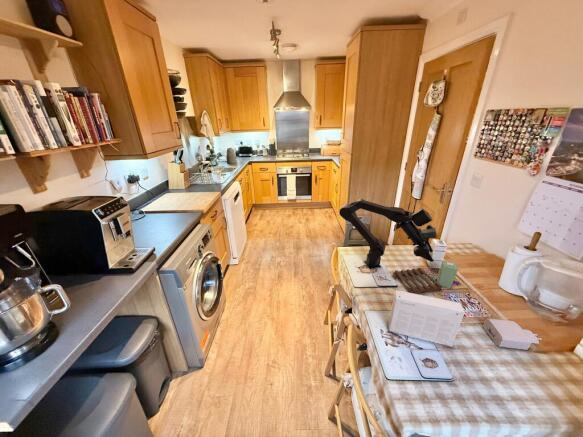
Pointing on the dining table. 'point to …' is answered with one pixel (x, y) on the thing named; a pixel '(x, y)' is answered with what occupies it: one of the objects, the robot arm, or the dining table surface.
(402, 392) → the dining table surface
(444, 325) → the skincare box
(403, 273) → the rack
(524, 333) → the charger
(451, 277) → the green rectangular box
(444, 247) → the syrup box
